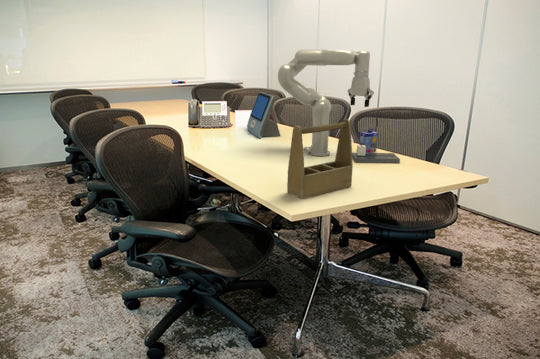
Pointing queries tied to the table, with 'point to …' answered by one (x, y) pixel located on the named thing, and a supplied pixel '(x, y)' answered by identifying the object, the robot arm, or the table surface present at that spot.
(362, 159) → the panel
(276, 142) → the table surface
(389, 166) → the table surface
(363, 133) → the ink cartridge box
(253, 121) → the touchscreen device
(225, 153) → the table surface
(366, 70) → the robot arm
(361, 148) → the fader
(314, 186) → the caddy
